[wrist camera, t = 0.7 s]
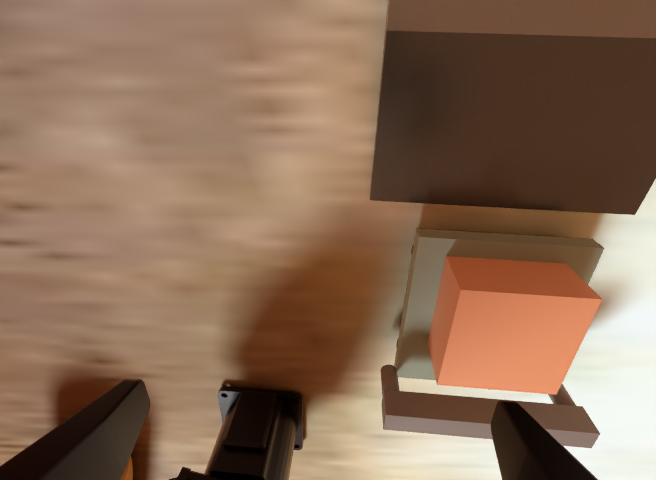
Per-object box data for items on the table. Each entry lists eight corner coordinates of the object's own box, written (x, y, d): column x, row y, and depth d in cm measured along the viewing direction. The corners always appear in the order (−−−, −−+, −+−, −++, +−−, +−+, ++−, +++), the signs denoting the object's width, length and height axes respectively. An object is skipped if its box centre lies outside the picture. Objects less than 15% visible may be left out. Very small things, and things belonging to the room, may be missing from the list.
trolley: (541, 363, 24) (591, 448, 19) (378, 351, 24) (383, 429, 19) (598, 229, 19) (686, 292, 14) (395, 218, 20) (408, 274, 15)
